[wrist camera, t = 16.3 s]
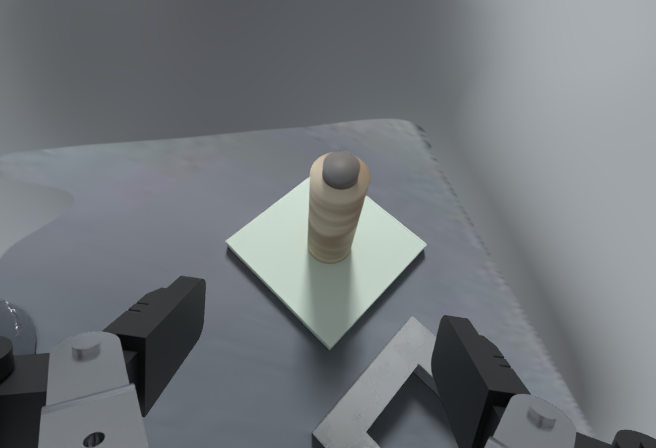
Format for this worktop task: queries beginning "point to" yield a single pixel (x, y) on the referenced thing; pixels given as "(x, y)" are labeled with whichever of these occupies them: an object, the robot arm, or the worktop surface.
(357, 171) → the key peg
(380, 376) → the grey square frame
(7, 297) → the worktop surface
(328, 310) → the set down board
